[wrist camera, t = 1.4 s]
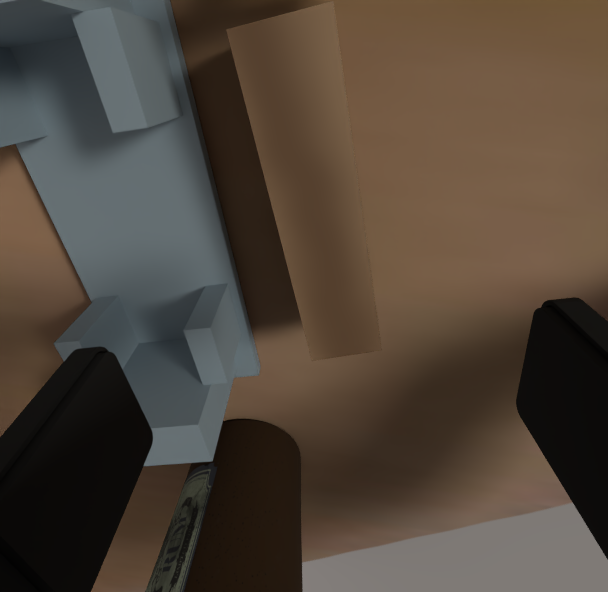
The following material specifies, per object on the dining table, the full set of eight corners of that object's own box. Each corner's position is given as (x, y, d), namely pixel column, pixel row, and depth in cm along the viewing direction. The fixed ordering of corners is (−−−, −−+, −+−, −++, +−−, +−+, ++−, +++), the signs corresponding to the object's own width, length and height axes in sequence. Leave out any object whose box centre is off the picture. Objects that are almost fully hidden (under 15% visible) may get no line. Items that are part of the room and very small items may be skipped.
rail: (327, 20, 19) (333, 0, 14) (368, 296, 27) (381, 350, 22) (249, 40, 19) (226, 29, 14) (311, 305, 27) (311, 360, 22)
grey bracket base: (148, -89, 17) (7, -225, 9) (260, 366, 30) (242, 470, 22) (-61, -47, 18) (-354, -140, 10) (137, 377, 31) (77, 482, 23)
